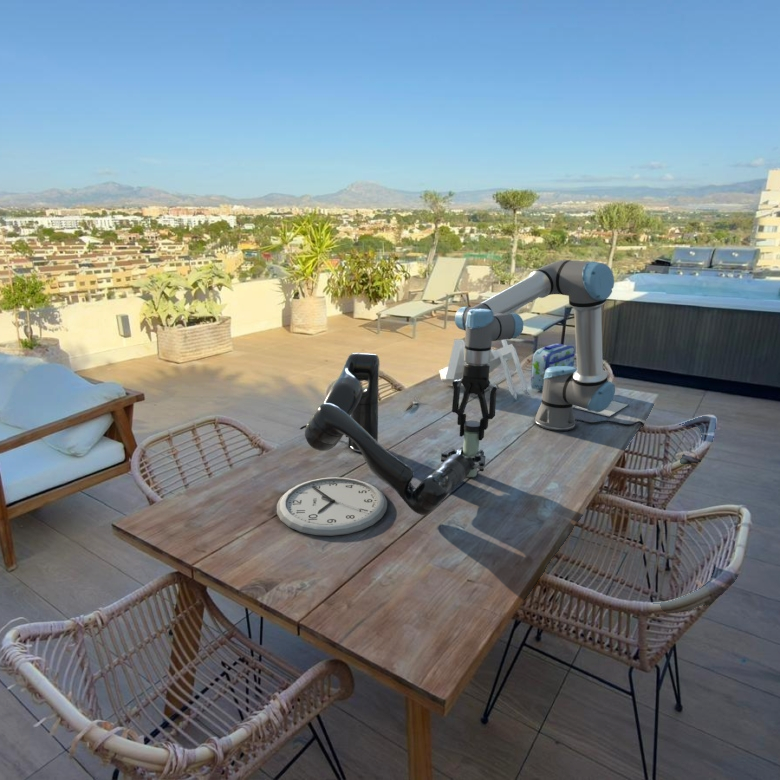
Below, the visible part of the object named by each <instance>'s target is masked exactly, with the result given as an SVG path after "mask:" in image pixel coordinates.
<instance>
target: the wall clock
mask: <svg viewBox="0 0 780 780" xmlns="http://www.w3.org/2000/svg"><path fill="white" fill-rule="evenodd" d="M387 509H388V500H387V498H386V496H385V494H384V493H383V492H382V491H381V490H380V489H379V488H377V487H376V486H374V485H372V484H371V483H369V482H365V481H362V480H359V479H355V478H349V477H338V476H337V477H335V476H333V477H332V476H331V477H322V478H317V479H312V480H307V481H305V482H302V483H299V484H297V485H295V486H293V487H292V488H290V489H288V490H287V491H286V492H285V493H284V494H283V495H281V496H280V498H279V499H278V502H277V503H276V515H277V517H278V518H279V520H280V521H281V522H282V523H283V524H285V525H286V526H287V527H288V528H290V529H293V530H295V531H297V532H299V533H303V534H308V535H312V536H327V537H328V536H329V537H331V536H332V537H333V536H342V535H350V534H352V533H356V532H361V531H363V530H366V529H368V528H369V527H372V526H373V525H375V524H376V523H378V522H379V521H380V520H381V519H382V518H383V517H384V516H385V514H386V512H387Z"/></svg>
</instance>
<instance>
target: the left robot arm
mask: <svg viewBox="0 0 780 780" xmlns="http://www.w3.org/2000/svg"><path fill="white" fill-rule="evenodd" d="M380 362H381V361H380V358H379V356H378V354H376V353H364V352H363V353H361V352H353V353H351V354H349V355H348V357H347V358H346V360H345V363H344V364H343V367H342V369H341V372H340V374H339V375H338V377H337V378H336V379H335V381H334V383H333V384H332V385H331V387H330V388H329V390H328V392H327V394H326V396H325V398H324V400H323V403H321V404H320V405H319V406H318V407H317V409H316V410H315V412H314V413H313V415H312V416H311V418H310V419H309V421H307V423H306V425H303V426H301V427H299V430H303V429H304V438H305V440H306V442H307V444H308V445H309V446H310V448H313V449H314V450H316V451H319V452H326V451H330V450H332V449H333V448H334V447H335V446H336V445H337V444H339V442H340V441H341V439H342V437H343V436H345V438H348V449H351V450H352V451H353V452H356V453H361V455H362V456H363V459H364V461H365V463H366V465H367V467H368V468H369V470H370V472H371V473H372V474H373V475H374V476H375V477H376V478H378V479H379V480H380V481H382V482H383V483H384V484H386V485H387V486H389V487H390V488H392V489H393V490H394V491H395V492H396V493H397V494H398V496H399V497H400V498H401V499H402V500H403V501H404V503H405V504H406V505H407V506H408V508H409V509H410V510H411V511H413V512H414V513H416V514H417V515H422V516H428V515H430V514H432V512H433V511H434V510H435V509H436V508H437V507H438V506H439V505H440V504H441V503H442V502H443V501H444V500H445V499H446V497H447V496H448V495H449V494H450V493H452V491H453V490H454V489H455V488H456V487H457V486H459V485H460V484H461V483H462V482H463V481H464V480H465V479H466V478H467V477H466V476H467V475H468V474H469V472H470V471H471V470H473V469H474V468H477V470H479V472H484V471H485V465H486V455H485V451H484V450H483V449H479V450H478V453H477V454H475V455H474V454H472V455H469V456H464V455H463V446H461V447H460V448H458V449H457V450H456V449H455V448H451V449H448V450H446V451H444V452H441V454H440V462H441V463H440V464H439V465H438V467H437V468H435V470H434V471H433V472H432V473H430V474H429V475H427V476H426V477H425V478H424V479H423V480H422V481H421V482H420V483H419V484H418V485H417V487H415V486H414V485H413V483H412V480H413V478H414V475H415V472H414V469H413V467H411V466H409V465H408V464H406V463H405V462H404V461H402V460H401V459H399V458H398V457H397V456H395V455H394V454H393V453H391V452H390V451H388V450H387V449H386V448H385V447H384V446H382V445H381V444H380V443H379V383H380V382H379V381H380V366H381V364H380ZM361 382H367V385H365V386H363V385H362V383H361Z"/></svg>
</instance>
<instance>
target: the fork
mask: <svg viewBox="0 0 780 780" xmlns="http://www.w3.org/2000/svg"><path fill="white" fill-rule="evenodd" d="M420 399H421V397H420V396H415V397H414V398H413V400H412V404H410V405H408V407H407V408H406V410H405V411H409V410H411V409H412V408H413V406H414V405H415V404H419V402H420Z"/></svg>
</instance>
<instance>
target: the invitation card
mask: <svg viewBox="0 0 780 780" xmlns="http://www.w3.org/2000/svg"><path fill="white" fill-rule="evenodd" d="M628 406H629V404H627V403H623V402H618V401H614V400H612V401H611V403H610V405H609V406H608V407H607V408H606V409H605V410H603V411H601V412H595V411H589V410H588V409H585V408H582V407H579V406H576V405H575V406H574V407H573V409H575V410H581V411H584V412H587V413H593V414H596V415H600V416H604V417H608V418H609V417H611V416H613V415H614V414H616V413H617V412H619V411H621V410H623V409H624V408H626V407H628Z"/></svg>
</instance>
